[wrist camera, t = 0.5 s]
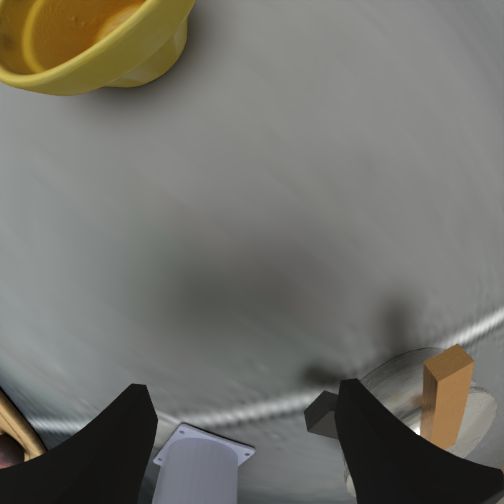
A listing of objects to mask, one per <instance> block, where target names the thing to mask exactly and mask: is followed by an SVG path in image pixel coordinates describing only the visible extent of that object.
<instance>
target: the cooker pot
mask: <svg viewBox="0 0 504 504" xmlns="http://www.w3.org/2000/svg"><path fill="white" fill-rule="evenodd" d="M443 351H445V350H444V349H439V348H423V349H418V350H414V351H411V352H408V353H405V354H402V355H400V356H398V357H395V358H393V359H391V360H390V361H388V362H386V363H384V364H382V365H381V366H379V367H378V368H376V369H375V370H373V371H372V372H371V373H369V374H368V375H367V376H365V377H364V378H363V379H362V380H361V381H360V382H361V383H362V384H363V385H364V386H365V387H366V388H367V389H368V390H369V391H370V392H371V393H372V394H373V395H374V396H375V397H376V398H377V399H378V400H379V401H380V402H381V403H382V404H383V405H384V406H385V407H386V408H387V409H388V410H389V411H390V412H391V413H392V414H393V415H395V416H396V417H397V418H398V419H399V418H401V417H402V416H404V415H405V414H407V413H409V412H410V411H412V410H414V409H415V408H417V407H419V406H421V405H422V395H423V362H424V361H426V360H428V359H430V358H432V357H434V356H436V355H438V354H440V353H441V352H443ZM470 386H479V385H478V384H477V383H476V382H475V381H474V379H473V378H471V383H470ZM337 399H338V395H337V394H334V393H331V392H328V391H325V390H324V391H323V392H322V393H321V394H320V395H319V396H318V397H317V398H316V399H315V401H314V402H313V403H312V404H311V405H310V406H309V407H308V408H307V409H306V410H305V411H304V415H305V420H306V425H307V431H308V432H311V433H315V434H318V435H322V436H326V437H331V438H335V439H338V434H337V429H336V424H335V419H334V414H335V409H336V404H337ZM338 442H339V439H338ZM339 446H340V450H341V453H342V457H343V461H344V465H345V468H346V467H347V463H346V460H345V457H344V454H343V451H342V448H341V445H340V442H339Z"/></svg>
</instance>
